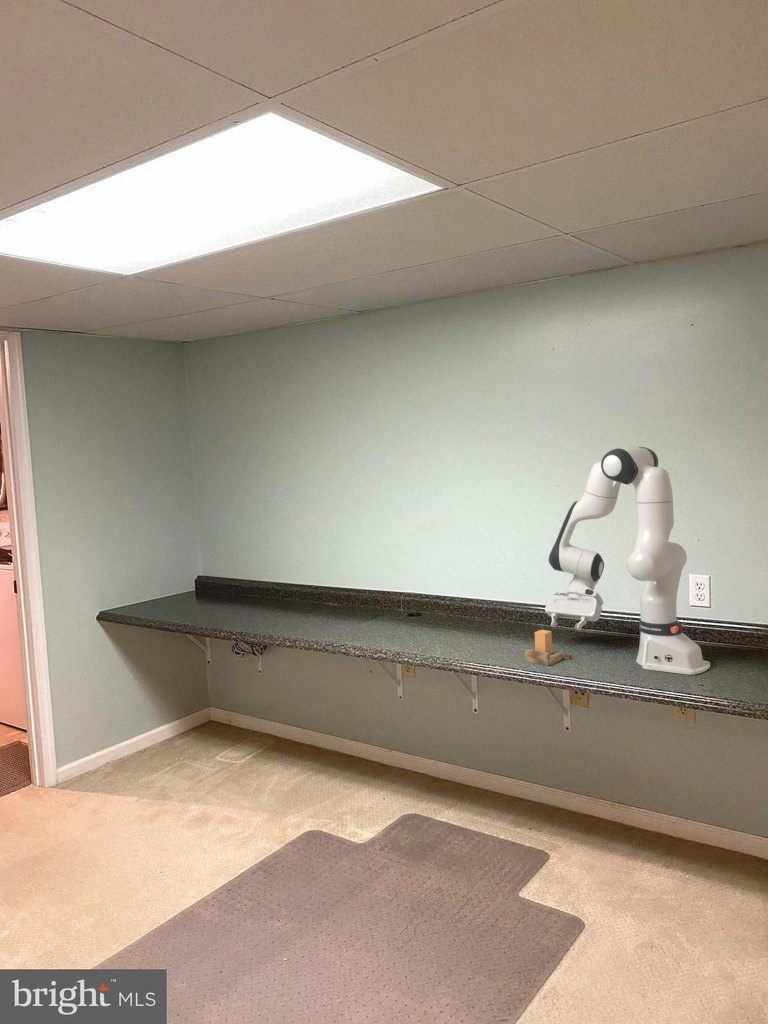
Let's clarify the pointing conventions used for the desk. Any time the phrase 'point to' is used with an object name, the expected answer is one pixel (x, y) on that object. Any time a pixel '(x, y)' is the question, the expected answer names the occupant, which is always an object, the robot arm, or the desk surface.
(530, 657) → the index bracket
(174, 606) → the desk surface
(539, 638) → the block
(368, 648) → the desk surface
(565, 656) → the door edge strip
